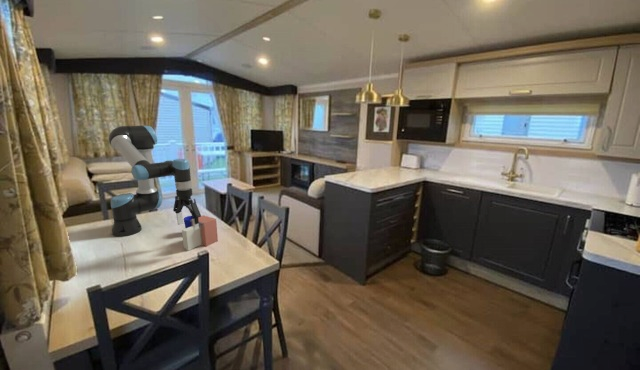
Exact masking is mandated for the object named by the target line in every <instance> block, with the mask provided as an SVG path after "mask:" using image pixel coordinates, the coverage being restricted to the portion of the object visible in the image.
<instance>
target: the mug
mask: <svg viewBox="0 0 640 370" xmlns="http://www.w3.org/2000/svg"><path fill="white" fill-rule="evenodd" d="M192 218H193V216H192V215H188V216H185V217H184V218H183V224H184V229H186V228H188V227H191V226H192V222H190V220H191V219H192Z"/></svg>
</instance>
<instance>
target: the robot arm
mask: <svg viewBox="0 0 640 370" xmlns="http://www.w3.org/2000/svg"><path fill="white" fill-rule="evenodd" d="M108 143H109V145H110V146H111V147H112V149H114V150H115V151H118V152H119V154H120V155H121V156H122V157H123V159H124V160H125V161H126V162H127V163H128V164H129V165H130V167H131V175H132V177H133V179H134V180H135V181H137V186H138V188H137V189H136V190H135V193H136V194H133V193H131V192H127V193H122V194H121V193H120V194H117V195H115V196H113V197H112V198H111V199H110V207H111V214H112V218H113V225H112V230H111V233H112V236H114V237H128V236H133V235H136V234H138V233H140V232H141V231H142V225H141V223H140V221H139V219H138V218H137V214H139V213H143V212H149V211H153V210H155V209H159V208H160V207H161V206H162V203H163V196H162V193H161V191H160V190H158V189H157V187H155V180H154V179H157V178H163V177H164V178H165V177H171V176H173V177H174V178H173V179H174V183H175V186H174V187H175V189H176V190H175V192H176V193H175V194H176V196H175V197H174V199H175V200H174V204H173V210H172V211H173V212H174V213H175V214H176V220H177V226H179V225H183V224H184V218H183V211H182V210H183V208H184V207H185V208H186V209H188V211H189V212H190V214H191V216H193V218H192V219H193V228H194V230H197V229H199V220H198V217H201V216H202V215H201V212H200V209H199V207H198V205H197V202H196V198H192V196H193V189H192V187H193V186H192V177H191V169H190V168H191V166H190V161H189V159H188V158H175V159H173V160H165V161H163V162H153V155H152V151H153V149H154V148H155V147H154V146H155V145H157V144H158V137H157V133H156V132H155V130H154V128H153V127H152V126H150V125H120V126H118V127H115V128H114V129H112V130H111V131H110V132H109V135H108Z"/></svg>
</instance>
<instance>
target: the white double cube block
mask: <svg viewBox="0 0 640 370" xmlns="http://www.w3.org/2000/svg"><path fill="white" fill-rule="evenodd" d="M181 235H182V244H183V250H186V251H191V250H192V249H195V248H197V247H200V246H201V245H202V246H203V242H202V232H201V225H199V229H197V230H194V228H193V226H191V227H188V228H184V229H181Z"/></svg>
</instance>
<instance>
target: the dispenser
mask: <svg viewBox="0 0 640 370" xmlns="http://www.w3.org/2000/svg"><path fill="white" fill-rule="evenodd" d="M198 220H199V225H201V232H202V242H203V244H202V246H205V247H208V246H210V245H212V244H215V243H217V242H219V238H218V226H217V225H218V224H217V223H218V222H217V218H214V217H211V216H208V215H204V214H203V215H201V217H198ZM190 222H192V226H193V219H191V220H190Z"/></svg>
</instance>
